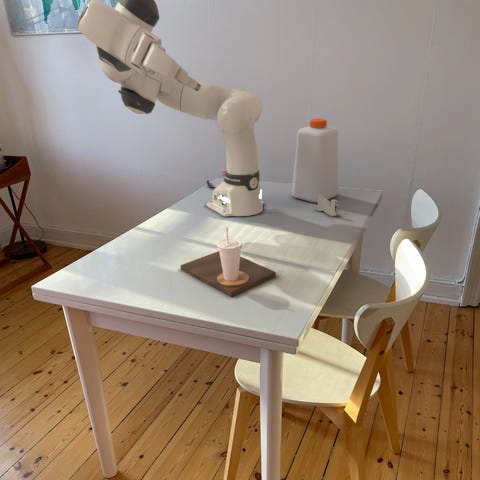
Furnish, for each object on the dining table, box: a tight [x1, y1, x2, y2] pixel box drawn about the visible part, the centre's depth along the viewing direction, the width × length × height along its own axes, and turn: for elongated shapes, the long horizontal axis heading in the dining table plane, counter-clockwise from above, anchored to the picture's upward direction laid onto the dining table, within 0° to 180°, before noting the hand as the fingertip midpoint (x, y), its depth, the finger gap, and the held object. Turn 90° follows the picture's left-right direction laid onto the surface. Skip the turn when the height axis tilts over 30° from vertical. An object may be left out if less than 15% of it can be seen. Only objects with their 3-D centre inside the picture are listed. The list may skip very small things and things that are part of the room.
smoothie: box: [216, 226, 243, 281], centre depth 127 cm, size 6×6×14 cm
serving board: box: [180, 250, 277, 298], centre depth 137 cm, size 22×16×2 cm
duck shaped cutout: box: [316, 195, 340, 217], centre depth 174 cm, size 6×1×10 cm
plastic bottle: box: [291, 118, 339, 204], centre depth 186 cm, size 15×15×28 cm
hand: (198, 87), depth 117 cm, fingers open, 8 cm apart
